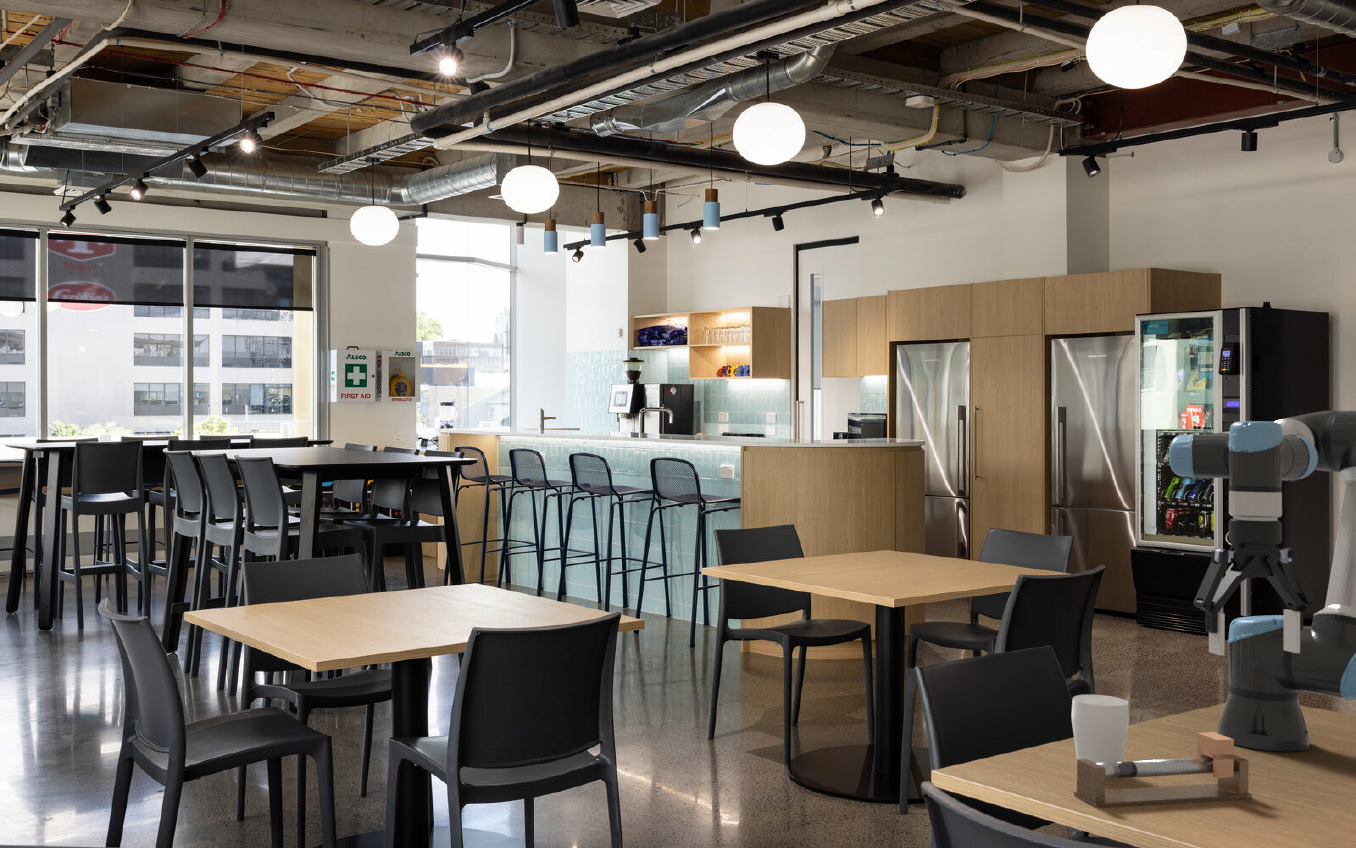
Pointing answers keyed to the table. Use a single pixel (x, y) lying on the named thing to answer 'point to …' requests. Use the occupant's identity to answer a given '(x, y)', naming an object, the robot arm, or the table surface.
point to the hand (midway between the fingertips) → (1254, 653)
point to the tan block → (1217, 752)
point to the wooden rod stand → (1096, 795)
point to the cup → (1100, 727)
